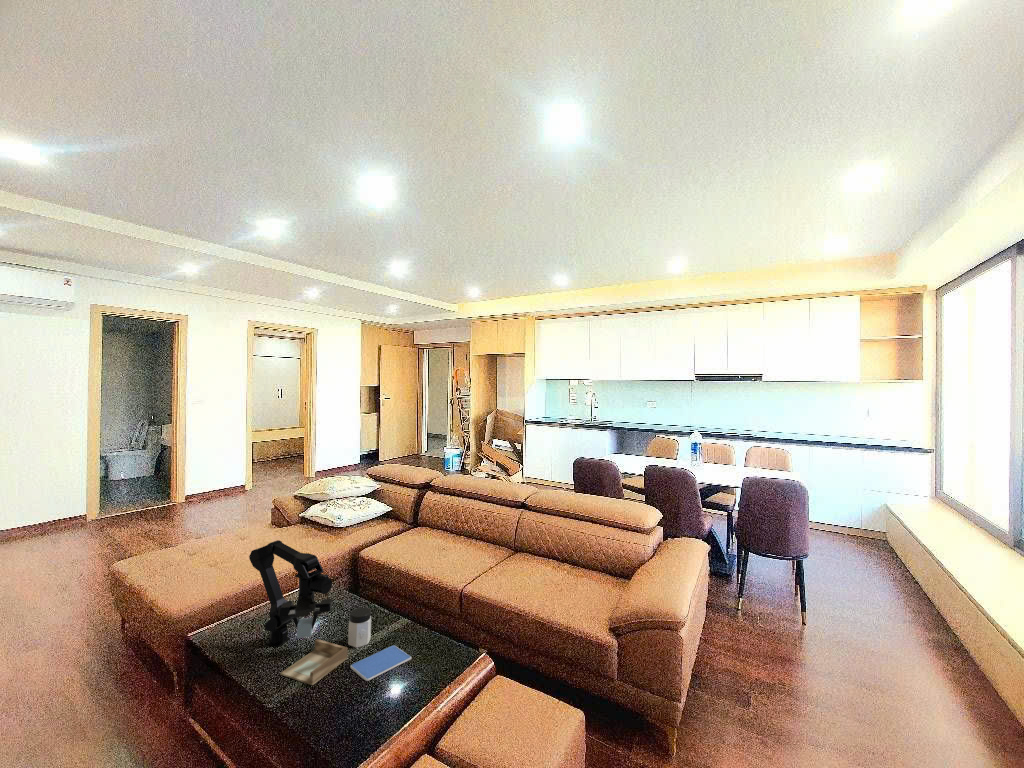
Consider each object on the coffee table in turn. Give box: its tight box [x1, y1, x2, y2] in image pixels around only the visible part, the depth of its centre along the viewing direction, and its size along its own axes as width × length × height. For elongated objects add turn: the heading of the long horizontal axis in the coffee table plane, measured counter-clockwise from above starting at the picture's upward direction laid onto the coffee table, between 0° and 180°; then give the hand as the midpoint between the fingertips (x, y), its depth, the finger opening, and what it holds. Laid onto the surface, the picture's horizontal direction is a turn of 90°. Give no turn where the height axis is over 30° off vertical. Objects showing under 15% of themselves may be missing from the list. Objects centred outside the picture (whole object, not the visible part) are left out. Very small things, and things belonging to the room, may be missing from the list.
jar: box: [347, 607, 372, 648], centre depth 179 cm, size 9×8×12 cm
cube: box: [296, 617, 314, 639], centre depth 173 cm, size 5×5×5 cm
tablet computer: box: [349, 644, 413, 682], centre depth 166 cm, size 19×13×1 cm, turn 139°
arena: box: [280, 638, 349, 686], centre depth 163 cm, size 15×17×4 cm
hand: (305, 629), depth 173 cm, fingers closed on cube, 5 cm apart
